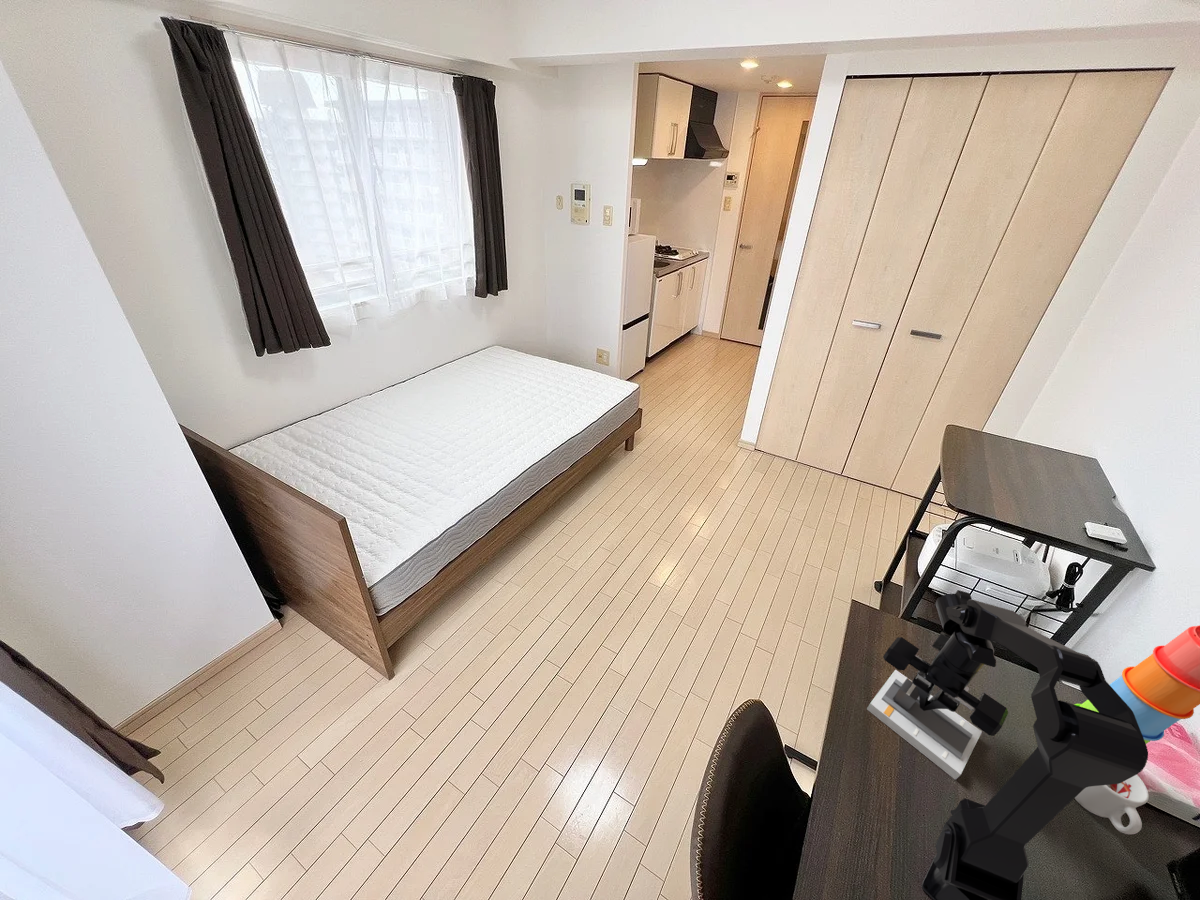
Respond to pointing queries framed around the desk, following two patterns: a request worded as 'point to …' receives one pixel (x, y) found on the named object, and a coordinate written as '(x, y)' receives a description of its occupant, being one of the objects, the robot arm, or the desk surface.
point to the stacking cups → (1162, 685)
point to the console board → (927, 728)
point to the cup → (1116, 802)
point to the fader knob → (906, 694)
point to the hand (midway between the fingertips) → (922, 708)
